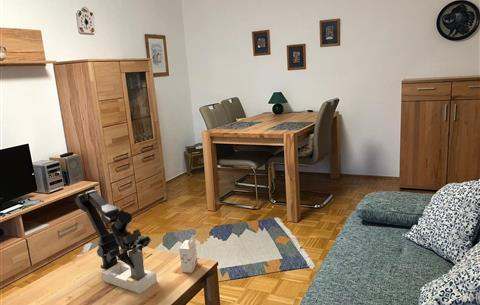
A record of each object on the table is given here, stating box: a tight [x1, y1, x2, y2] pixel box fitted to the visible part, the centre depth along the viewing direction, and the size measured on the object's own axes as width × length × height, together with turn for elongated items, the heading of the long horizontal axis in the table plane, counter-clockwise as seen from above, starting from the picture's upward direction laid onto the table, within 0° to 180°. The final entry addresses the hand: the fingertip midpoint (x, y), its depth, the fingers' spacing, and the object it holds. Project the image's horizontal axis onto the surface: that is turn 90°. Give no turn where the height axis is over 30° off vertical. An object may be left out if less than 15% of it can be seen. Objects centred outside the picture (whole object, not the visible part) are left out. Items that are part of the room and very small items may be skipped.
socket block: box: [101, 261, 158, 294], centre depth 168 cm, size 22×10×4 cm, turn 59°
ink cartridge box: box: [178, 234, 198, 274], centre depth 175 cm, size 9×5×15 cm, turn 168°
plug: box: [127, 248, 145, 281], centre depth 164 cm, size 4×4×14 cm
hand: (138, 266), depth 163 cm, fingers closed on plug, 4 cm apart
